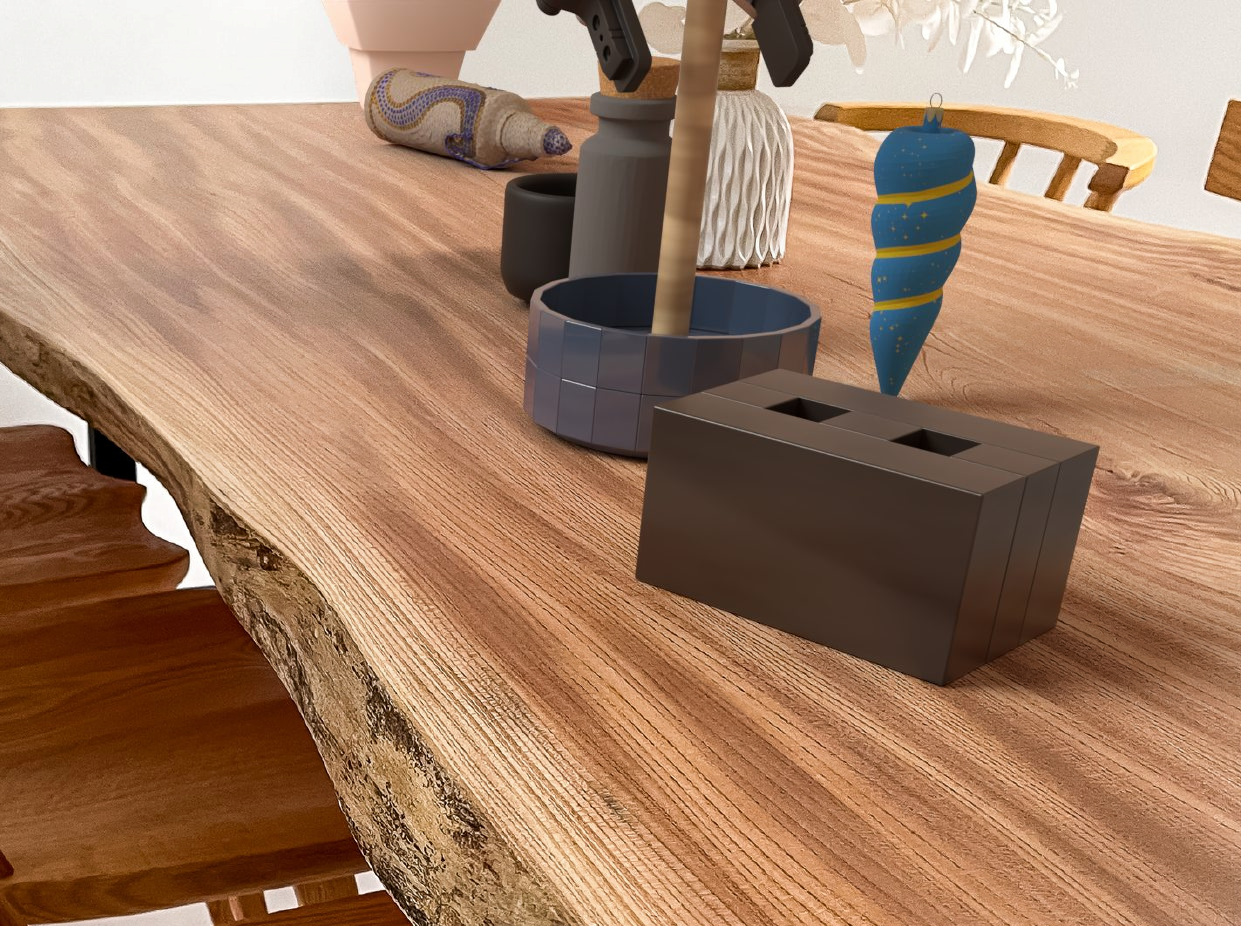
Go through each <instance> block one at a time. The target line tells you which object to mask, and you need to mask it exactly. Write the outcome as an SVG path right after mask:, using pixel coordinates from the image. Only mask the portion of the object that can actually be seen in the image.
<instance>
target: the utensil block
mask: <svg viewBox="0 0 1241 926" xmlns="http://www.w3.org/2000/svg"><path fill="white" fill-rule="evenodd" d="M1100 449H1101V446H1100V445H1098V444H1095V443H1090V442H1086V441H1083V440H1077V439H1074V438H1070V437H1065V436H1062V435H1057V434H1053V433H1048V432H1044V431H1041V430H1036V429H1032V428H1027V427H1024V426H1020V425H1015V424H1011V423H1007V422H1003V421H999V420H995V419H991V418H987V417H982V416H978V415H974V414H971V413H966V412H961V411H958V410H953V409H951V408H950V409H949V408H945V407H942V406H937V405H933V404H928V403H926V402H925V403H924V402H922V401H921V402H920V401H917V400H912V399H909V398H904V397H901V396H900V397H899V396H897V397H896V396H892V395H888V394H883V393H881V392H879V391H876V390H875V391H874V390H871V389H866V388H863V387H859V386H854V385H850V384H846V383H842V382H838V381H834V380H830V379H826V378H822V377H817V376H814V375H813V376H809V375H805V374H801V373H797V372H792V371H788V370H784V369H776V370H773V371H769V372H766V373H763V374H759V375H756V376H752V377H749V378H745V379H742V380H739V381H736V382H732V383H729V384H725V385H722V386H719V387H715V388H712V389H708V390H705V391H702V392H700V393H696V394H693V395H689V396H686V397H682V398H679V399H676V400H672V401H669V402H665V403H662V404H659V405H655V406H654V408H653V417H652V426H651V435H650V444H649V454H648V458H647V464H646V472H645V482H644V492H643V501H642V509H641V519H640V528H639V535H638V536H639V537H638V546H637V555H636V562H635V563H636V564H635V572H634V578H635V579H636V580H637V581H641V582H644V583H647V584H649V585H652V586H655V587H658V588H661V589H663V590H665V591H666V590H667V591H669V592H672V593H675V594H677V595H680V596H684V597H686V598H689V599H692V600H695V601H698V602H700V603H703V604H707V605H709V606H712V607H715V608H718V609H720V610H723V611H726V612H729V613H731V614H735V615H738V616H741V617H743V618H747V619H748V620H749V619H750V620H752V621H755V622H757V623H759V624H760V623H761V624H763V625H766V626H769V627H772V628H774V629H777V630H780V631H784V632H787V633H789V634H792V635H795V636H798V637H801V638H804V639H807V640H809V641H812V642H816V643H818V644H821V645H823V646H825V647H828V648H832V649H835V650H837V651H841V652H843V653H846V654H848V655H852V656H855V657H857V658H861V659H864V660H866V661H869V662H872V663H875V664H877V665H881V666H882V667H883V666H884V667H886V668H889V669H891V670H895V671H897V672H901V673H903V674H907V675H909V676H912V677H915V678H918V679H921V680H924V681H926V682H929V683H932V684H935V685H937V686H941V687H944V686H946V685H947V684H950V683H952V682H953V681H955V680H957V679H959V678H960V677H962V676H964V675H966V674H968V673H969V672H972V671H974V670H975V669H977V668H980V667H981V666H983V665H984V664H987V663H989V662H991V661H993V660H995V659H996V658H998V657H1001V656H1002V655H1004V654H1006V653H1008V652H1009V651H1012V650H1013V649H1015V648H1017V647H1019V646H1021V645H1023V644H1025V643H1027V642H1029V641H1030V640H1033V639H1034V638H1036V637H1038V636H1040V635H1042V634H1044V633H1045V632H1047V631H1050V630H1051V629H1053V628H1055V627H1057V624H1058V619H1059V615H1060V612H1061V607H1062V604H1063V599H1064V595H1065V591H1066V587H1067V584H1068V580H1069V579H1068V578H1069V575H1070V571H1071V567H1072V563H1073V558H1074V555H1075V550H1076V546H1077V543H1078V539H1079V534H1080V531H1081V530H1080V529H1081V526H1082V523H1083V518H1084V515H1085V514H1084V513H1085V509H1086V506H1087V501H1088V497H1089V493H1090V489H1091V485H1092V481H1093V477H1094V473H1095V468H1096V465H1097V461H1098V457H1099V453H1100Z"/></svg>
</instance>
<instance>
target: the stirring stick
mask: <svg viewBox="0 0 1241 926" xmlns="http://www.w3.org/2000/svg"><path fill="white" fill-rule="evenodd" d="M728 3H729V2H728V0H686V6H685V15H684V27H683V36H682V44H681V45H682V47H681V54H680V61H681V62H680V71H679V81H678V86H677V89H676V95H677V100H676V109H675V118H674V119H673V129H672V136H671V138H672V146H671V156H670V165H669V174H668V184H667V193H666V203H665V212H664V221H663V231H662V240H661V249H660V259H659V268H658V277H657V287H656V296H655V306H654V315H653V324H652V334H668V335H684V336H688V333H689V325H690V316H691V308H692V299H693V291H694V282H695V274H697V265H698V256H699V247H700V240H701V239H700V238H701V230H702V223H703V213H704V205H705V196H706V189H707V188H706V187H707V180H708V179H707V178H708V171H709V164H710V163H709V161H710V153H711V145H712V137H713V129H714V122H715V121H714V120H715V111H716V102H717V94H718V87H719V77H720V70H721V69H720V68H721V60H722V54H723V53H722V51H723V43H724V35H725V26H726V17H727V9H728Z"/></svg>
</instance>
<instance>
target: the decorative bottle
mask: <svg viewBox="0 0 1241 926" xmlns="http://www.w3.org/2000/svg"><path fill="white" fill-rule="evenodd" d="M363 112H364V120H365V123H366V125H367V127H368V129H369V130H370V131H371V132H372V133H373V134H374V135H375V136H376V137H377V138H378V139H380V140H381V141H385V142H387V143H388V144H398V145H400V146H401V145H402V146H407V147H410V148H412V149H417V150H421V151H425V152H428V153H431V154H437V155H439V156H444V157H445V156H446V157H451V158H452V159H455V160H460V161H462V162H464V163H468V164H470V165H472V166H475V167H478V168H479V169H481V170H488V169H507V168H511V167H514V166H516V165H517V164H519V163H520V162H524V161H531V162H534V161H537V160H538V159H539V158H541V159H552V158H555V157H556V156H561V157H562V156H563V155H565V154H568V153H569V152H570V151H571V150H572V149H573V144H572V143H571V142H570V139H569V138H568V136H567V135H566V133H565V132H563V131H562V130H561V128H560V127H559V126H558V125H557V124H554V123H551V122H547V121H543V120H542V119H541V118H540V117H539V116H537V115H535V114H534V111H533V109H532V107H531V105H530V103H528V102H527V101H526V100H525V99H524V98H523V97H522V96H521V95H519V94H517V93H515V92H511V91H507V90H504V89H501V88H500V89H499V88H496V87H491V86H483V85H480V84H478V83H476V82H474V83H472V82H468V81H464V80H460V79H458V80H457V79H455V80H454V79H450V78H445V77H440V76H435V75H429V74H425V73H420V72H415V71H412V70H410V69H407V68H391V69H388V70H385V71H383V72H381V73H380V74H378V75H377V76H376V77H375V78H374V79H373V80H372V82H371V83H370V85H369V88H368V90H367V92H366V95H365V102H364V111H363Z"/></svg>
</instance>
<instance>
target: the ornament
mask: <svg viewBox="0 0 1241 926" xmlns="http://www.w3.org/2000/svg"><path fill="white" fill-rule="evenodd" d="M934 95H938V96H939V97H940V103H939V106H933V105H932V99H933V97H934ZM942 104H943V95H942V94H940V93H939V92H934V93H933V94H932V95H931V96H930V99H929V105H930V106H926V107H925V109H924V113H923V118H922V119H923V122H922V125H904V126H901V127H897V128H895V129H894V130H892V131H890V133H889V134H888V135H887V136H886V137H885V138H884V139H883V141H882V142H881V144H880V146H879V148H878V150H877V152H876V155H875V159H874V162H873V180H874V186H875V191H876V196H877V200H876V203H874V206H873V208H872V211H871V215H870V228H871V234H872V238H873V244H874V248H875V252H876V255H875V257H874V260H873V261H872V265H871V270H870V283H871V285H870V286H871V293H872V299H873V304H874V305H873V306H874V307H873V311H872V314H871V317H870V320H869V340H870V345H871V350H872V354H873V360H874V365H875V369H876V375H877V380H878V385H879V391H880V392H879V393H883V394H888V395H892V396H896V397H899V394H900V392H901V390H902V388H903V386H904V384H905V383H906V380H907V378H908V376H909V374H910V372H911V370H912V369H913V366H914V364H915V362H916V360H917V358H918V357H919V355H920V352H921V350H922V348H923V346H924V344H925V342H926V340H927V339H928V336H929V334H930V333H931V331H932V330H933V327H934V325H935V323H936V322H937V321H936V320H937V319H938V317H939V314H940V311H941V309H942V305H943V301H944V300H943V299H944V290H943V289H944V285H945V284H946V282H947V280H948V279H949V278H950V276H951V274H952V272H953V271H954V269H955V267H956V265H957V263H958V260H959V258H960V256H961V252H962V245H963V244H962V234H961V232H962V230H963V229H964V227H965V225H966V224H967V222H968V221H969V220H970V217H971V215H972V213H973V211H974V209H975V206H976V202H977V200H978V188H977V181H976V177H975V170H974V162H975V158H976V146H975V142H974V140H973V138H972V137H971V136H970V135H969V134H968V133H967V132H965V131H963V130H961V129H958V128H953V127H952V128H951V127H944V126H942V122H943V120H944V114H945V108H943V107H941V106H942Z"/></svg>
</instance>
